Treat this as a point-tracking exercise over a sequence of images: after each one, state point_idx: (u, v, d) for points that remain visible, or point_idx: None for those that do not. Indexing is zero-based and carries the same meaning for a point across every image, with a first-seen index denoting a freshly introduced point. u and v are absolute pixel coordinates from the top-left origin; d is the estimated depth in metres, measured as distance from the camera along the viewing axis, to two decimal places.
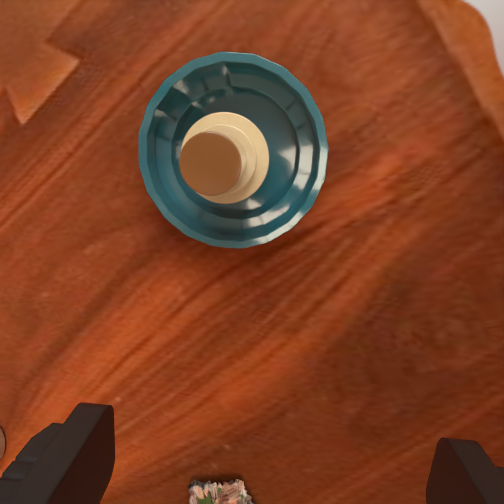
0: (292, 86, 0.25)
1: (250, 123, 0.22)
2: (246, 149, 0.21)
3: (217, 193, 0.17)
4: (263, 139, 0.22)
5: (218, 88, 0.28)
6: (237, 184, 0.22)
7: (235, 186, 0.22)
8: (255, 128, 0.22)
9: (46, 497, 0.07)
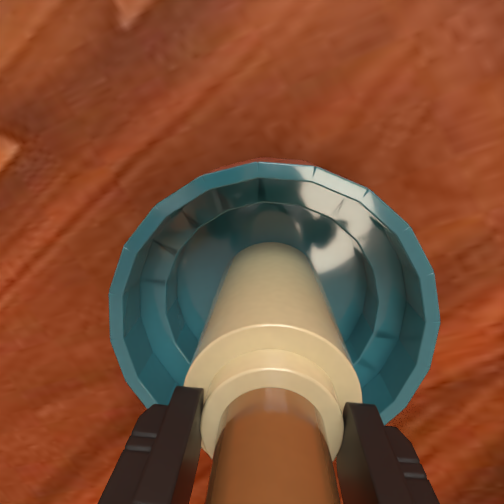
0: (383, 221, 0.14)
1: (328, 345, 0.10)
2: (324, 414, 0.10)
3: None
4: (353, 374, 0.11)
5: (245, 205, 0.16)
6: None
7: None
8: (338, 355, 0.10)
9: (178, 463, 0.07)
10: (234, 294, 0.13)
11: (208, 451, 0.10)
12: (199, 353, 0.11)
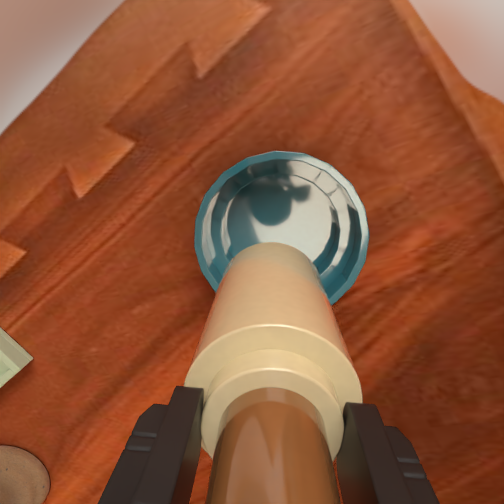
0: (338, 181, 0.28)
1: (328, 345, 0.10)
2: (324, 414, 0.10)
3: None
4: (353, 374, 0.11)
5: (266, 175, 0.30)
6: None
7: None
8: (338, 355, 0.10)
9: (178, 463, 0.07)
10: (234, 294, 0.13)
11: (208, 451, 0.10)
12: (199, 353, 0.11)
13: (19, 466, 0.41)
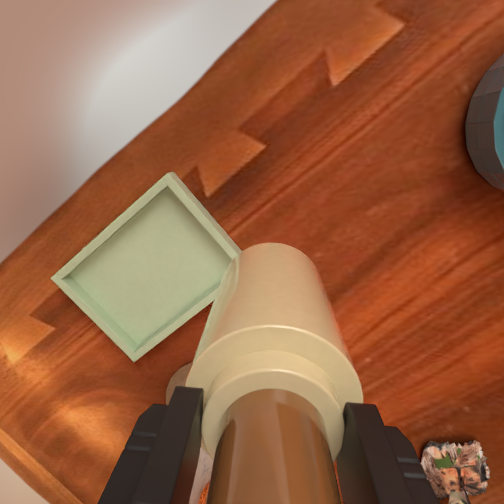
0: None
1: (329, 346, 0.10)
2: (325, 416, 0.10)
3: None
4: (354, 375, 0.11)
5: None
6: None
7: None
8: (339, 357, 0.10)
9: (178, 463, 0.07)
10: (235, 295, 0.13)
11: (209, 452, 0.10)
12: (200, 354, 0.11)
13: None
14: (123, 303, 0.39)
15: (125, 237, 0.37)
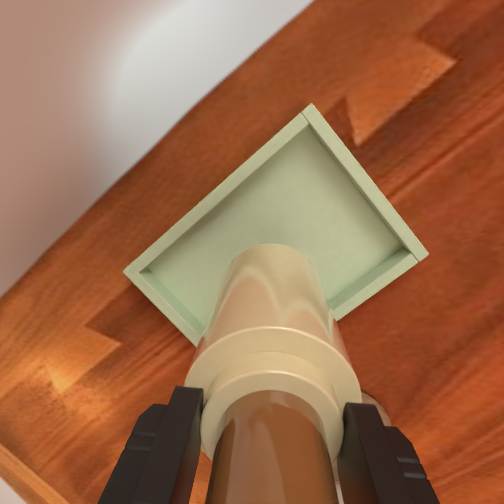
0: None
1: (328, 348, 0.10)
2: (324, 417, 0.10)
3: None
4: (353, 377, 0.11)
5: None
6: None
7: None
8: (338, 358, 0.10)
9: (178, 463, 0.07)
10: (234, 296, 0.13)
11: (208, 453, 0.10)
12: (199, 355, 0.11)
13: None
14: None
15: (231, 209, 0.25)
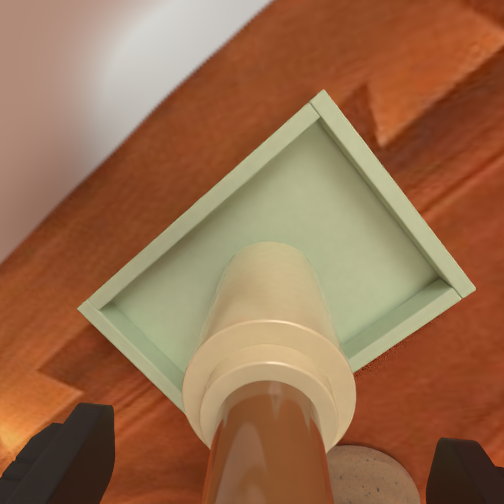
0: None
1: (323, 340, 0.11)
2: (319, 407, 0.10)
3: None
4: (347, 368, 0.11)
5: None
6: None
7: None
8: (333, 350, 0.11)
9: (46, 497, 0.07)
10: (233, 292, 0.14)
11: (207, 442, 0.11)
12: (198, 348, 0.11)
13: (390, 484, 0.22)
14: None
15: (218, 228, 0.19)
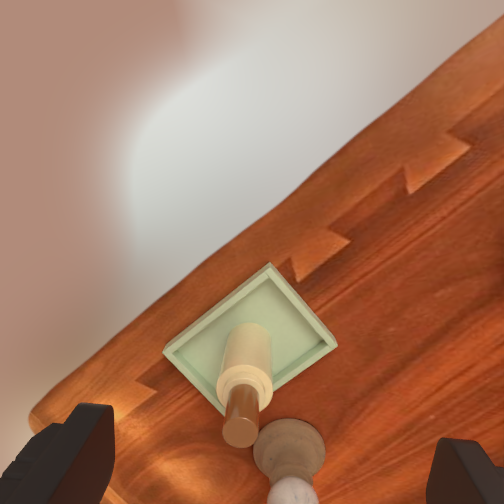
0: None
1: (261, 371, 0.34)
2: (259, 392, 0.34)
3: (244, 447, 0.30)
4: (269, 380, 0.34)
5: None
6: None
7: None
8: (264, 374, 0.34)
9: (46, 497, 0.07)
10: (233, 351, 0.37)
11: (224, 403, 0.34)
12: (222, 373, 0.35)
13: (308, 437, 0.45)
14: None
15: (226, 316, 0.43)
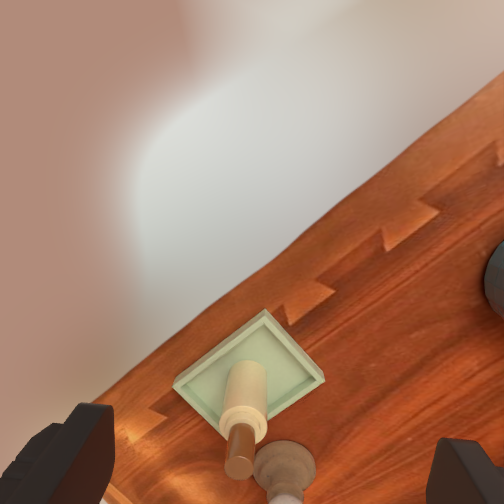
0: None
1: (257, 411, 0.40)
2: (255, 429, 0.40)
3: (242, 479, 0.36)
4: (264, 418, 0.41)
5: None
6: None
7: None
8: (259, 414, 0.40)
9: (46, 497, 0.07)
10: (233, 391, 0.43)
11: (226, 438, 0.40)
12: (223, 412, 0.41)
13: (300, 456, 0.52)
14: None
15: (227, 355, 0.49)
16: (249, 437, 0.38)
